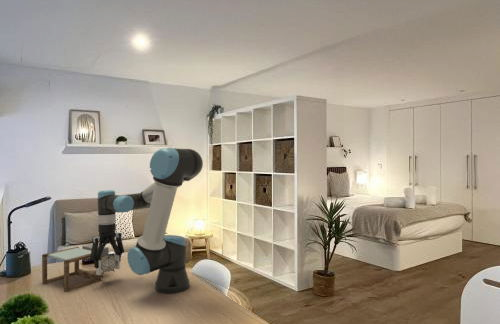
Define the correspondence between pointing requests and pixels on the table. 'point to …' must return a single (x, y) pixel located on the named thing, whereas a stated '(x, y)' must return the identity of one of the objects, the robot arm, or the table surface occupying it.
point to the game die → (108, 263)
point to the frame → (66, 273)
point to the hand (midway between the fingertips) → (108, 271)
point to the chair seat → (77, 253)
